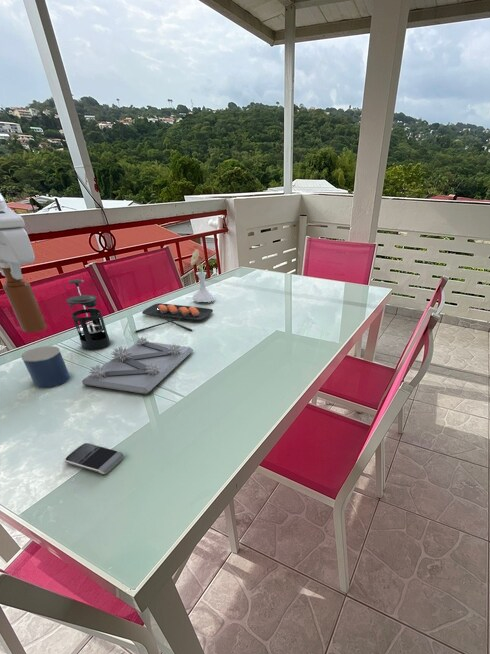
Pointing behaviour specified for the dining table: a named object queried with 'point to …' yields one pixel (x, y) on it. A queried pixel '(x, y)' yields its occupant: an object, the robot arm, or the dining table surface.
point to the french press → (91, 330)
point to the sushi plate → (176, 313)
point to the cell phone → (94, 458)
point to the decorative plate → (138, 366)
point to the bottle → (23, 302)
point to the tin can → (46, 366)
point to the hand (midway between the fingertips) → (13, 277)
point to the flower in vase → (201, 283)
